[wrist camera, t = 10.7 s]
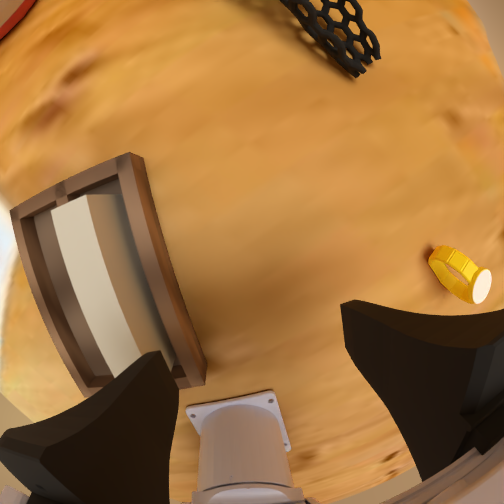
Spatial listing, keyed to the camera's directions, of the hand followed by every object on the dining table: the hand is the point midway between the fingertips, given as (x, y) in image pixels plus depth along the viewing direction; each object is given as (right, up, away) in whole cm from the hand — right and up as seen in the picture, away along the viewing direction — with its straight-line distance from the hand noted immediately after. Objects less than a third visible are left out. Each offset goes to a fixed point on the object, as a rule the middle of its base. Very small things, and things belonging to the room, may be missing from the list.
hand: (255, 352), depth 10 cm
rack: (-11, +1, +8) cm, 14 cm away
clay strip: (-8, +2, +8) cm, 11 cm away
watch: (+17, +2, +11) cm, 20 cm away
